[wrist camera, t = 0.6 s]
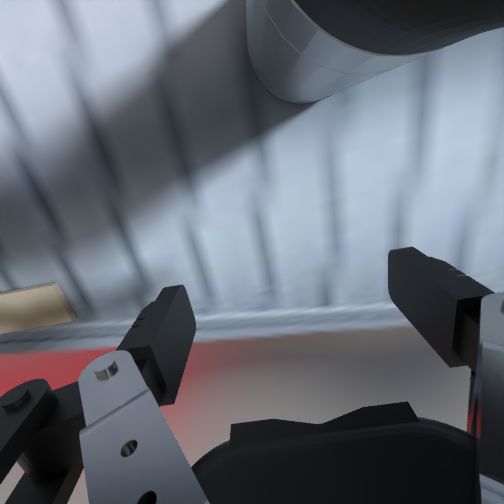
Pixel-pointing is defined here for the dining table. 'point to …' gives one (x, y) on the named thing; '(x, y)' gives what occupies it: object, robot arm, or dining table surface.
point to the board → (34, 308)
